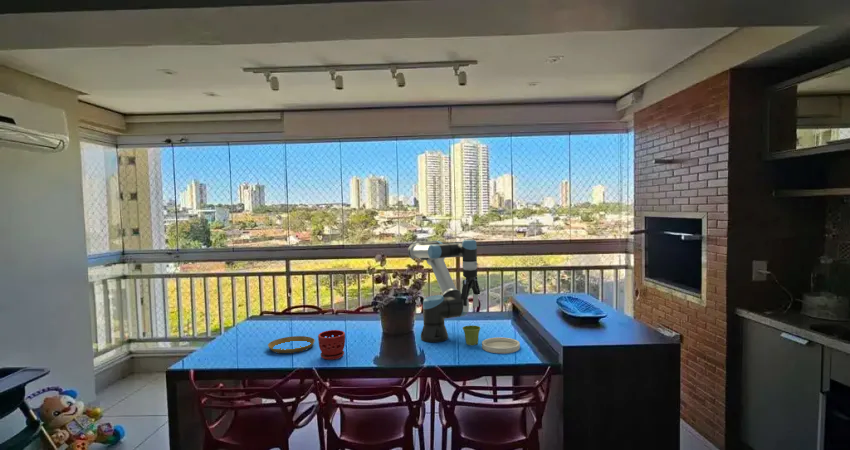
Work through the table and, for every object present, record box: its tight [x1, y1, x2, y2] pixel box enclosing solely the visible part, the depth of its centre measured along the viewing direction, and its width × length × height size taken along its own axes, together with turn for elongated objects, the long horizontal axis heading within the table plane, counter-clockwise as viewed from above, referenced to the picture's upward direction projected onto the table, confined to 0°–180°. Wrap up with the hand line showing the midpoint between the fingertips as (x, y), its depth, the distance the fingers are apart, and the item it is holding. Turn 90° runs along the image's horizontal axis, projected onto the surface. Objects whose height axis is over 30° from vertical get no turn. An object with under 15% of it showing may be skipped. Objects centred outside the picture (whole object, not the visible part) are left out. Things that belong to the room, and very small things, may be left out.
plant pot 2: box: [462, 324, 481, 346], centre depth 234 cm, size 9×9×9 cm
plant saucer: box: [267, 335, 316, 354], centre depth 238 cm, size 24×24×3 cm
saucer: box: [481, 336, 521, 355], centre depth 226 cm, size 19×19×2 cm
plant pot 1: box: [317, 329, 346, 361], centre depth 220 cm, size 13×13×12 cm
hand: (471, 309), depth 234 cm, fingers open, 13 cm apart
